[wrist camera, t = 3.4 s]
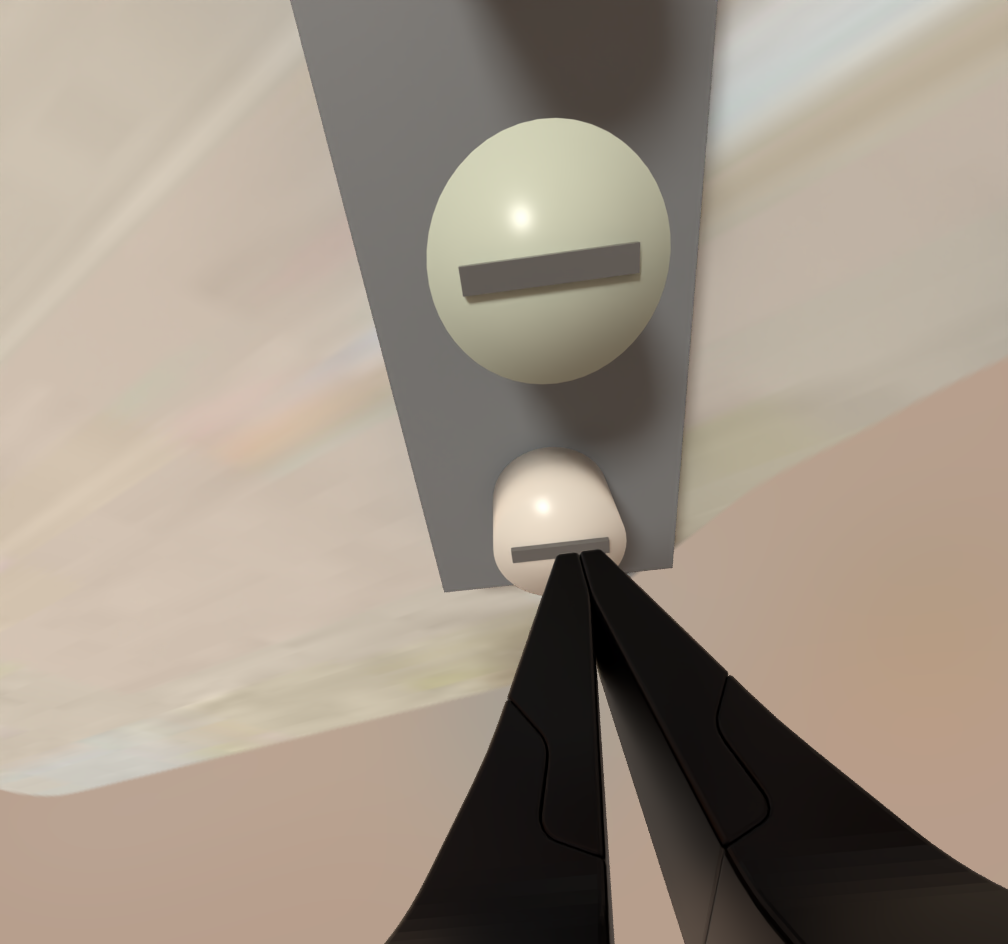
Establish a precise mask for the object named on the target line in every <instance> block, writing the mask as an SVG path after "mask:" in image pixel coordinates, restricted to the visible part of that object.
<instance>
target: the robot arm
mask: <svg viewBox="0 0 1008 944" xmlns="http://www.w3.org/2000/svg"><path fill="white" fill-rule="evenodd" d="M596 664H597V667H596ZM597 669H598V672H599V676H600V679H601V683H602V685H603V689H604V692H605V695H606V698H607V701H608V705H609V708H610V711H611V714H612V717H613V720H614V723H615V727H616V730H617V733H618V736H619V739H620V742H621V745H622V748H623V752H624V755H625V758H626V761H627V764H628V767H629V770H630V774H631V777H632V780H633V783H634V786H635V789H636V792H637V795H638V799H639V802H640V805H641V808H642V811H643V814H644V817H645V821H646V824H647V827H648V830H649V833H650V836H651V839H652V843H653V846H654V849H655V852H656V855H657V858H658V861H659V865H660V868H661V871H662V874H663V877H664V880H665V883H666V886H667V890H668V893H669V896H670V899H671V902H672V905H673V908H674V911H675V914H676V918H677V920H678V924H679V927H680V930H681V933H682V937H683V939H684V943H685V944H1008V889H1006V888H1004V887H1002V886H1000V885H998V884H996V883H994V882H992V881H990V880H988V879H987V878H985V877H983V876H981V875H979V874H978V873H976V872H974V871H972V870H971V869H969V868H968V867H966V866H965V865H963V864H961V863H960V862H958V861H957V860H955V859H953V858H952V857H951V856H949V855H948V854H946V853H945V852H943V851H942V850H940V849H939V848H938V847H936V846H935V845H933V844H932V843H931V842H929V841H928V840H927V839H925V838H924V837H923V836H921V835H920V834H919V833H918V832H916V831H915V830H914V829H912V828H911V827H910V826H909V825H907V824H906V823H905V822H904V821H902V820H901V819H900V818H898V816H896V815H895V814H894V813H893V812H891V811H890V810H889V809H887V808H886V807H885V806H884V805H883V804H881V803H880V802H879V801H878V800H876V799H875V798H874V797H873V796H871V795H870V794H869V793H868V792H866V791H865V790H864V789H863V788H861V787H860V786H859V785H858V784H857V783H855V782H854V781H853V780H851V779H850V778H849V777H848V776H847V775H845V774H844V773H843V772H841V771H840V770H839V769H838V768H837V767H835V766H834V765H833V764H832V763H830V762H829V761H828V760H827V759H825V758H824V757H823V756H822V755H820V754H819V753H818V752H817V751H816V750H814V749H813V748H812V747H811V746H809V745H808V744H807V743H806V742H805V741H804V740H802V739H801V738H800V737H798V735H796V734H795V733H794V732H793V731H792V730H790V729H789V728H788V727H787V726H786V725H784V724H783V723H782V722H781V721H780V720H778V719H777V718H776V717H775V716H774V715H773V714H772V713H771V712H770V711H769V710H767V708H765V707H764V706H763V705H762V704H761V703H760V702H759V701H758V700H757V699H755V697H754V696H752V695H751V694H750V693H749V692H748V691H747V690H746V689H745V688H744V687H743V686H742V685H741V684H740V683H739V682H738V681H737V680H736V679H735V678H734V677H733V676H731V675H729V676H728V672H727V671H726V670H725V669H724V668H723V667H722V666H721V665H720V664H719V663H718V662H717V661H716V660H715V659H714V658H713V657H712V656H711V655H710V654H709V653H708V652H707V651H706V650H705V649H704V648H703V647H702V646H700V645H699V644H698V643H697V642H696V641H695V640H694V639H693V638H692V637H691V636H690V635H689V634H688V633H687V632H686V631H685V630H684V629H683V628H682V627H681V626H680V625H679V624H678V623H676V621H674V619H673V618H672V617H671V616H670V615H668V614H667V613H666V612H665V611H664V610H663V609H662V608H661V607H660V606H659V605H658V604H657V603H656V602H655V601H654V600H653V599H652V598H651V597H650V596H649V595H648V594H647V593H646V592H645V591H644V590H643V589H642V588H641V587H639V586H638V585H637V584H636V583H635V582H634V581H633V580H632V579H631V578H630V577H629V576H628V575H627V574H626V573H625V572H624V571H623V570H622V569H621V568H620V567H619V566H618V565H617V564H616V563H615V562H614V561H613V560H612V559H611V558H610V557H608V556H607V555H606V554H605V553H604V552H603V551H602V550H600V549H593V550H585V551H581V552H580V554H578V553H577V552H570V553H562V554H558V555H557V556H556V558H555V561H554V564H553V567H552V569H551V572H550V575H549V578H548V581H547V584H546V587H545V590H544V593H543V595H542V598H541V601H540V604H539V607H538V610H537V613H536V616H535V619H534V622H533V624H532V627H531V630H530V633H529V636H528V639H527V642H526V645H525V648H524V650H523V653H522V656H521V659H520V662H519V665H518V668H517V671H516V674H515V677H514V679H513V682H512V685H511V688H510V691H509V694H508V700H507V701H506V702H505V705H504V708H503V711H502V714H501V716H500V719H499V722H498V725H497V727H496V730H495V732H494V735H493V738H492V740H491V743H490V745H489V748H488V751H487V753H486V755H485V757H484V760H483V762H482V764H481V766H480V769H479V771H478V773H477V775H476V777H475V779H474V782H473V784H472V786H471V788H470V790H469V792H468V794H467V796H466V798H465V800H464V802H463V804H462V806H461V808H460V810H459V812H458V815H457V817H456V819H455V821H454V823H453V825H452V827H451V829H450V831H449V833H448V835H447V837H446V839H445V841H444V843H443V845H442V847H441V849H440V851H439V853H438V855H437V857H436V859H435V861H434V863H433V865H432V867H431V869H430V871H429V873H428V875H427V877H426V879H425V881H424V883H423V885H422V887H421V889H420V891H419V893H418V894H417V896H416V898H415V900H414V901H413V903H412V905H411V907H410V908H409V910H408V911H407V913H406V914H405V916H404V918H403V919H402V921H401V922H400V924H399V925H398V927H397V928H396V929H395V931H394V932H393V933H392V935H391V936H390V937H389V938H388V940H387V941H386V943H385V944H615V943H614V929H613V913H612V898H611V883H610V866H609V850H608V835H607V819H606V804H605V789H604V773H603V757H602V742H601V726H600V712H599V695H598V680H597Z"/></svg>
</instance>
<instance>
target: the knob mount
mask: <svg viewBox="0 0 1008 944" xmlns="http://www.w3.org/2000/svg"><path fill="white" fill-rule="evenodd" d="M290 1H291V5H292V9H293V13H294V17H295V20H296V24H297V28H298V32H299V36H300V40H301V44H302V47H303V51H304V55H305V59H306V63H307V67H308V70H309V74H310V78H311V82H312V86H313V90H314V93H315V97H316V101H317V105H318V109H319V113H320V117H321V120H322V124H323V128H324V132H325V136H326V140H327V143H328V147H329V151H330V155H331V159H332V163H333V167H334V170H335V174H336V178H337V182H338V186H339V190H340V193H341V197H342V201H343V205H344V209H345V213H346V216H347V220H348V224H349V228H350V232H351V236H352V240H353V243H354V247H355V251H356V255H357V259H358V263H359V266H360V270H361V274H362V278H363V282H364V286H365V289H366V293H367V297H368V301H369V305H370V309H371V313H372V316H373V320H374V324H375V328H376V332H377V336H378V339H379V343H380V347H381V351H382V355H383V359H384V362H385V366H386V370H387V374H388V378H389V382H390V386H391V389H392V393H393V397H394V401H395V405H396V409H397V412H398V416H399V420H400V424H401V428H402V432H403V435H404V439H405V443H406V447H407V451H408V455H409V459H410V462H411V466H412V470H413V474H414V478H415V482H416V485H417V489H418V493H419V497H420V501H421V505H422V508H423V512H424V516H425V520H426V524H427V528H428V532H429V535H430V539H431V543H432V547H433V551H434V555H435V558H436V562H437V566H438V570H439V574H440V578H441V582H442V585H443V589H444V592H453V591H462V590H472V589H481V588H490V587H499V586H509V585H514V584H512V583H511V582H510V581H509V580H507V579H506V578H505V577H504V575H503V574H502V573H501V571H500V570H499V568H498V566H497V564H496V562H495V558H494V551H493V491H494V487H495V484H496V481H497V479H498V477H499V476H500V474H501V472H502V471H503V470H504V469H505V467H506V466H507V465H509V464H510V463H511V462H512V461H513V460H515V459H516V458H517V457H519V456H521V455H523V454H525V453H527V452H529V451H532V450H536V449H540V448H546V447H562V448H568V449H571V450H575V451H577V452H580V453H582V454H584V455H585V456H587V457H589V458H590V459H591V460H592V461H594V462H595V463H596V465H597V466H598V467H599V468H600V470H601V471H602V473H603V475H604V477H605V480H606V482H607V485H608V487H609V490H610V492H611V495H612V497H613V500H614V502H615V505H616V507H617V510H618V512H619V515H620V518H621V520H622V523H623V525H624V528H625V532H626V540H627V542H626V549H625V553H624V556H623V558H622V560H621V562H620V564H619V565H618V566H619V567H620V568H621V569H622V570H623V571H624V572H625V573H629V572H638V571H647V570H657V569H665V568H672V566H673V565H672V564H673V553H674V541H675V529H676V516H677V504H678V491H679V479H680V466H681V454H682V441H683V428H684V416H685V403H686V391H687V378H688V366H689V353H690V341H691V328H692V316H693V303H694V290H695V278H696V265H697V253H698V240H699V228H700V215H701V203H702V190H703V177H704V165H705V152H706V140H707V127H708V115H709V102H710V90H711V77H712V65H713V52H714V39H715V27H716V14H717V2H718V0H290ZM547 118H563V119H573V120H578V121H582V122H585V123H589V124H592V125H595V126H597V127H599V128H601V129H603V130H606V131H608V132H610V133H611V134H613V135H614V136H616V137H617V138H619V139H620V140H622V141H623V142H624V143H625V144H626V145H627V146H629V147H630V148H631V149H632V150H633V151H634V152H635V153H636V154H637V155H638V156H639V158H640V159H641V160H642V161H643V163H644V164H645V165H646V166H647V167H648V169H649V171H650V173H651V174H652V176H653V178H654V179H655V181H656V183H657V185H658V187H659V190H660V192H661V195H662V197H663V200H664V203H665V207H666V211H667V215H668V220H669V227H670V244H671V253H670V261H669V270H668V274H667V278H666V283H665V287H664V289H663V292H662V295H661V298H660V301H659V303H658V305H657V307H656V309H655V311H654V313H653V315H652V317H651V319H650V320H649V322H648V323H647V325H646V326H645V328H644V330H643V331H642V332H641V333H640V335H639V336H638V337H637V338H636V340H635V341H634V342H633V343H632V344H631V345H630V346H629V347H628V348H627V349H626V350H625V351H624V352H623V353H622V354H621V355H619V356H618V357H617V358H615V359H614V360H613V361H612V362H610V363H609V364H607V365H605V366H604V367H602V368H601V369H599V370H597V371H595V372H593V373H591V374H588V375H586V376H584V377H581V378H578V379H575V380H572V381H567V382H562V383H556V384H528V383H523V382H518V381H514V380H510V379H507V378H504V377H501V376H499V375H497V374H495V373H493V372H491V371H489V370H487V369H486V368H484V367H483V366H481V365H479V364H478V363H476V362H475V361H474V360H473V359H472V358H470V357H469V356H468V355H467V354H466V353H465V352H464V351H463V350H462V349H461V348H460V347H459V346H458V345H457V344H456V342H455V341H454V340H453V338H452V337H451V336H450V334H449V333H448V331H447V330H446V328H445V326H444V324H443V323H442V321H441V319H440V317H439V315H438V312H437V310H436V307H435V305H434V302H433V299H432V295H431V291H430V287H429V281H428V274H427V243H428V234H429V229H430V225H431V221H432V216H433V213H434V211H435V208H436V205H437V203H438V200H439V197H440V195H441V194H442V192H443V190H444V188H445V186H446V184H447V182H448V180H449V179H450V178H451V176H452V175H453V173H454V172H455V171H456V169H457V168H458V166H459V165H460V164H461V163H462V162H463V161H464V160H465V159H466V158H467V157H468V155H469V154H470V153H471V152H472V151H473V150H475V149H476V148H477V147H478V146H480V145H481V144H482V143H483V142H485V141H486V140H487V139H489V138H491V137H492V136H494V135H496V134H497V133H499V132H501V131H502V130H505V129H507V128H510V127H512V126H515V125H517V124H520V123H524V122H528V121H532V120H536V119H547Z"/></svg>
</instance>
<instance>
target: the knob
mask: <svg viewBox="0 0 1008 944" xmlns="http://www.w3.org/2000/svg"><path fill="white" fill-rule="evenodd" d="M626 542H627V540H626V532H625V528H624V525H623V523H622V520H621V518H620V515H619V512H618V510H617V507H616V505H615V502H614V500H613V497H612V495H611V492H610V490H609V487H608V485H607V482H606V480H605V477H604V475H603V473H602V471H601V470H600V468H599V467H598V466H597V465H596V463H595V462H594V461H592V460H591V459H590V458H589V457H587V456H585V455H584V454H582V453H580V452H577V451H575V450H571V449H568V448H562V447H546V448H540V449H536V450H532V451H529V452H527V453H525V454H523V455H521V456H519V457H517V458H516V459H515V460H513V461H512V462H511V463H510V464H509V465H507V466H506V467H505V469H504V470H503V471H502V472H501V474H500V476H499V477H498V479H497V481H496V484H495V487H494V491H493V551H494V558H495V562H496V564H497V566H498V568H499V570H500V571H501V573H502V574H503V575H504V577H505V578H506V579H507V580H509V581H510V582H511V583H512V584H514V585H515V586H517V587H518V588H520V589H522V590H524V591H527V592H530V593H533V594H537V595H543V593H544V590H545V587H546V584H547V581H548V578H549V575H550V572H551V569H552V567H553V564H554V561H555V558H556V556H557V555H558V554H562V553H570V552H577V553H578V554H580V552H581V551H585V550H593V549H600V550H602V551H603V552H604V553H605V554H606V555H607V556H608V557H610V558H611V559H612V560H613V561H614V562H615V563H616V564H617V565H619V564H620V562H621V560H622V558H623V556H624V553H625V549H626Z"/></svg>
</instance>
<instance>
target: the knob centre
mask: <svg viewBox="0 0 1008 944" xmlns="http://www.w3.org/2000/svg"><path fill="white" fill-rule="evenodd" d="M670 253H671V244H670V227H669V220H668V215H667V211H666V207H665V203H664V200H663V197H662V195H661V192H660V190H659V187H658V185H657V183H656V181H655V179H654V178H653V176H652V174H651V173H650V171H649V169H648V167H647V166H646V165H645V164H644V163H643V161H642V160H641V159H640V158H639V156H638V155H637V154H636V153H635V152H634V151H633V150H632V149H631V148H630V147H629V146H627V145H626V144H625V143H624V142H623V141H622V140H620V139H619V138H617V137H616V136H614V135H613V134H611V133H610V132H608V131H606V130H603V129H601V128H599V127H597V126H595V125H592V124H589V123H585V122H582V121H578V120H573V119H563V118H547V119H536V120H532V121H528V122H524V123H520V124H517V125H515V126H512V127H510V128H507V129H505V130H502V131H501V132H499V133H497V134H496V135H494V136H492V137H491V138H489V139H487V140H486V141H485V142H483V143H482V144H481V145H480V146H478V147H477V148H476V149H475V150H473V151H472V152H471V153H470V154H469V155H468V157H467V158H466V159H465V160H464V161H463V162H462V163H461V164H460V165H459V166H458V168H457V169H456V171H455V172H454V173H453V175H452V176H451V178H450V179H449V180H448V182H447V184H446V186H445V188H444V190H443V192H442V194H441V195H440V197H439V200H438V203H437V205H436V208H435V211H434V213H433V216H432V221H431V225H430V229H429V234H428V243H427V274H428V281H429V287H430V291H431V295H432V299H433V302H434V305H435V307H436V310H437V312H438V315H439V317H440V319H441V321H442V323H443V324H444V326H445V328H446V330H447V331H448V333H449V334H450V336H451V337H452V338H453V340H454V341H455V342H456V344H457V345H458V346H459V347H460V348H461V349H462V350H463V351H464V352H465V353H466V354H467V355H468V356H469V357H470V358H472V359H473V360H474V361H475V362H476V363H478V364H479V365H481V366H483V367H484V368H486V369H487V370H489V371H491V372H493V373H495V374H497V375H499V376H501V377H504V378H507V379H510V380H514V381H518V382H523V383H528V384H556V383H562V382H567V381H572V380H575V379H578V378H581V377H584V376H586V375H588V374H591V373H593V372H595V371H597V370H599V369H601V368H602V367H604V366H605V365H607V364H609V363H610V362H612V361H613V360H614V359H615V358H617V357H618V356H619V355H621V354H622V353H623V352H624V351H625V350H626V349H627V348H628V347H629V346H630V345H631V344H632V343H633V342H634V341H635V340H636V338H637V337H638V336H639V335H640V333H641V332H642V331H643V330H644V328H645V326H646V325H647V323H648V322H649V320H650V319H651V317H652V315H653V313H654V311H655V309H656V307H657V305H658V303H659V301H660V298H661V295H662V292H663V289H664V287H665V283H666V278H667V274H668V270H669V261H670Z"/></svg>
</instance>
